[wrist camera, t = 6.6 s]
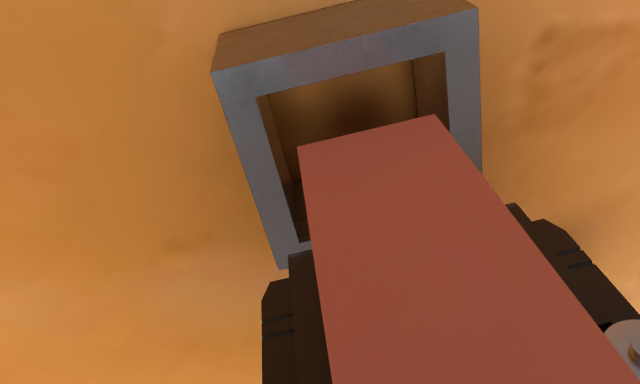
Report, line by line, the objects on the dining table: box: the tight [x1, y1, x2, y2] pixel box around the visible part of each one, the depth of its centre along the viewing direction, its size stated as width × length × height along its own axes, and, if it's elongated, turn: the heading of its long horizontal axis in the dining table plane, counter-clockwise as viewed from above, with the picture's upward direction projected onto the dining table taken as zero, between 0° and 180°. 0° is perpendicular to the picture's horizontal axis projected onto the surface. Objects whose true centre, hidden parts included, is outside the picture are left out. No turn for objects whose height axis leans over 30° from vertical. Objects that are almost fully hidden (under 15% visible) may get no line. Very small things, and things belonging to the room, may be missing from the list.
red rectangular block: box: [297, 114, 640, 384], centre depth 9 cm, size 4×4×11 cm
